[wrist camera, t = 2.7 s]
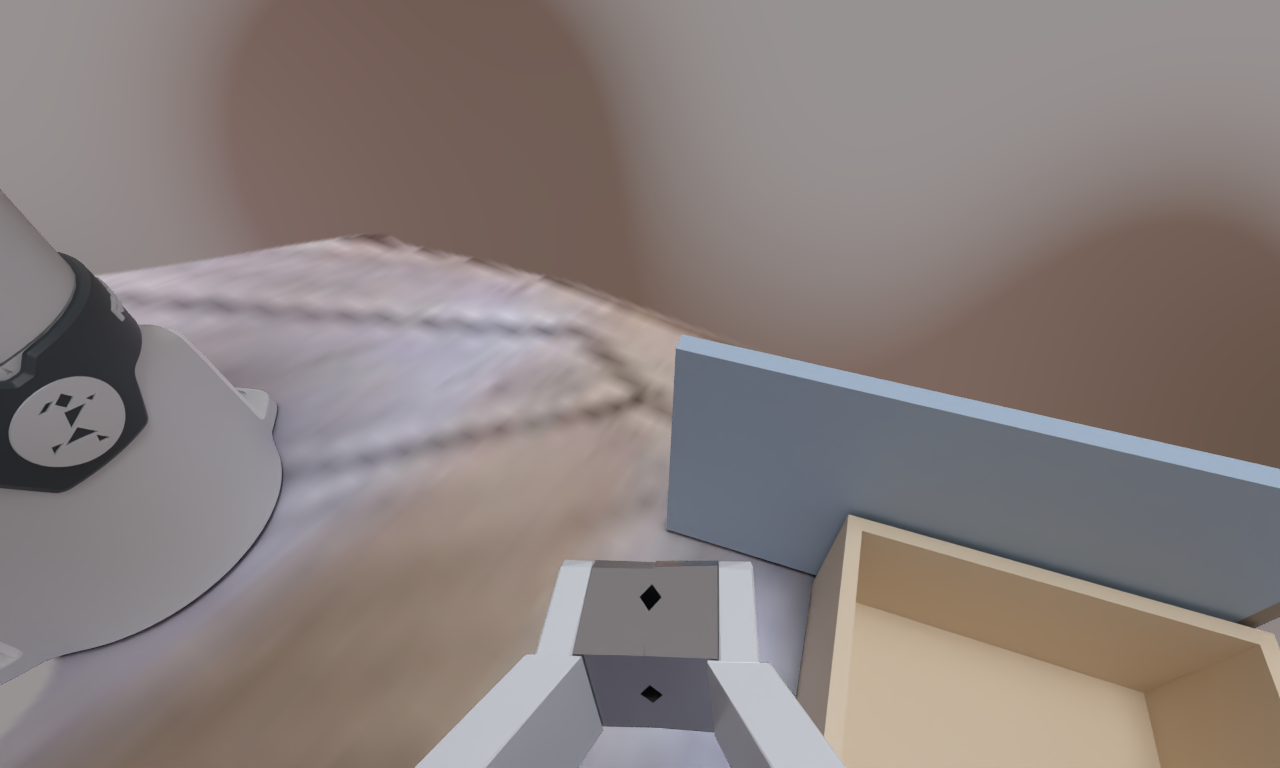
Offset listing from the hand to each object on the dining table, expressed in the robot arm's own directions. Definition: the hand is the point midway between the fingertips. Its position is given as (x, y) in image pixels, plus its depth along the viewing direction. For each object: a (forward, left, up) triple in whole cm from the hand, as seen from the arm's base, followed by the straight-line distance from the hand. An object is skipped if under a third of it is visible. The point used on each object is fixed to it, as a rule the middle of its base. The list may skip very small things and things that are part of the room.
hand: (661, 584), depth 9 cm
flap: (+9, +11, -19) cm, 24 cm away
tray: (+13, +5, -19) cm, 24 cm away
